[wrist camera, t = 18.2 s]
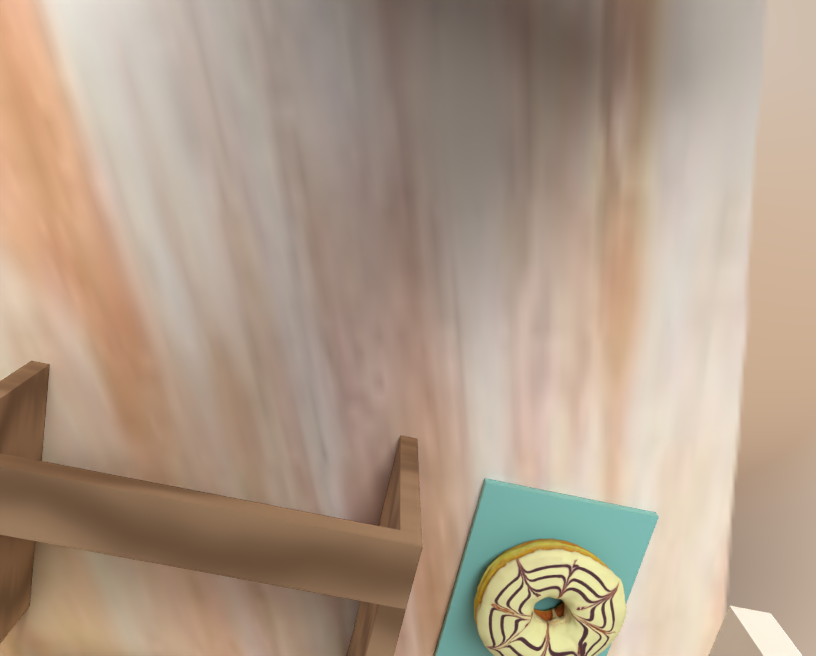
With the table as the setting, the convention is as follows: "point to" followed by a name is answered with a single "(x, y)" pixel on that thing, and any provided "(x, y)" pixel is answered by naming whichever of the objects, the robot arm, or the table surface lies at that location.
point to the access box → (199, 527)
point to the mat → (531, 520)
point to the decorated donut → (557, 578)
